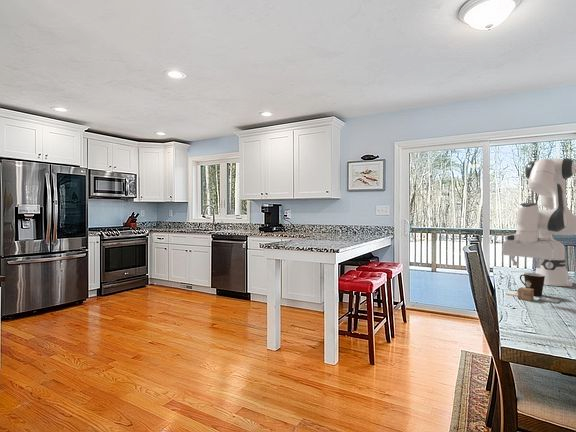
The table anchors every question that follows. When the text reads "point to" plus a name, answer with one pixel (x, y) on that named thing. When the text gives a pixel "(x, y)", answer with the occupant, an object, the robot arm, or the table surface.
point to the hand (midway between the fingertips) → (526, 266)
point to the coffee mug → (534, 282)
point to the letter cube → (525, 294)
